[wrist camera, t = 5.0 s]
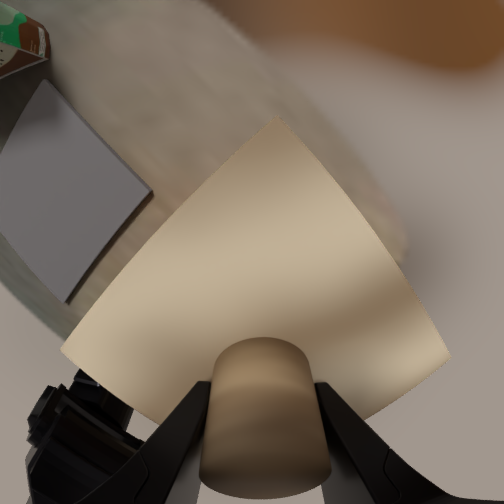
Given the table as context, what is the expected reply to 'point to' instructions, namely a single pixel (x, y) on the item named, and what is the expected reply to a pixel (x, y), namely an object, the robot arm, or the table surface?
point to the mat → (62, 191)
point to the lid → (261, 318)
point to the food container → (20, 41)
